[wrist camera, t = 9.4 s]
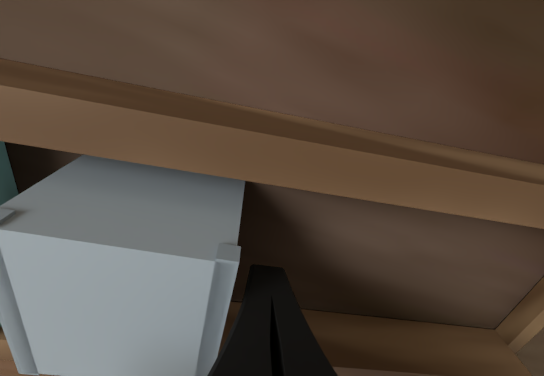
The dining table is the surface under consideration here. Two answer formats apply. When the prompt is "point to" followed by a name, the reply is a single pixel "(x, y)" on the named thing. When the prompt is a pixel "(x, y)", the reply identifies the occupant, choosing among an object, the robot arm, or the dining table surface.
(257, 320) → the robot arm
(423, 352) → the bay
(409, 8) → the dining table surface
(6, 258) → the box
